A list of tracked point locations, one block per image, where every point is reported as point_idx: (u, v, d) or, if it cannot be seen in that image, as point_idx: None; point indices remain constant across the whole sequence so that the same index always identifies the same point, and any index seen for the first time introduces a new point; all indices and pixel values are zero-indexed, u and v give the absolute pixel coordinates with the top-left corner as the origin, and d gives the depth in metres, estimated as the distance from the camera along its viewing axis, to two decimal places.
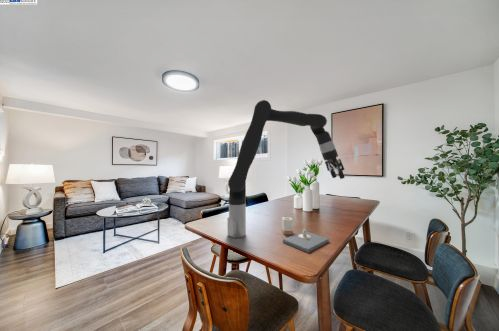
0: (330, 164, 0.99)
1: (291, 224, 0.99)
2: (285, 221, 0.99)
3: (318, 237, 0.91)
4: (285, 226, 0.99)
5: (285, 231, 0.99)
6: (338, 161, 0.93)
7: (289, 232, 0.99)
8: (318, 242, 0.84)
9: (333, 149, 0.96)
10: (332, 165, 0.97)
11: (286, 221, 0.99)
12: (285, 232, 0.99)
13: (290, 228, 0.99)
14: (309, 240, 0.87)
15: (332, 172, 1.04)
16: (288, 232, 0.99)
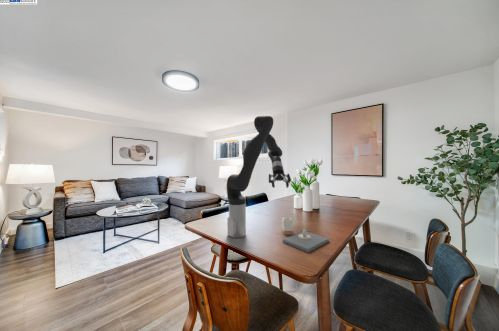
0: (280, 174, 1.19)
1: (291, 224, 0.99)
2: (285, 221, 0.99)
3: (318, 237, 0.91)
4: (285, 226, 0.99)
5: (285, 231, 0.99)
6: None
7: (289, 232, 0.99)
8: (318, 242, 0.84)
9: None
10: (282, 175, 1.19)
11: (286, 221, 0.99)
12: (285, 232, 0.99)
13: (290, 228, 0.99)
14: (309, 240, 0.87)
15: None
16: (288, 232, 0.99)
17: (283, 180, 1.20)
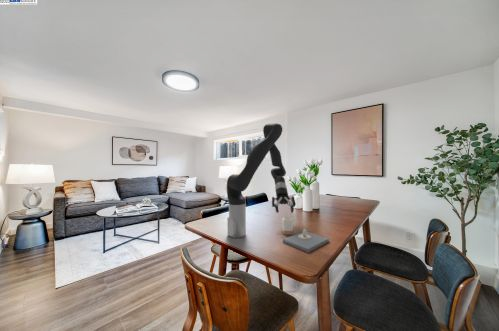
0: (284, 198, 1.12)
1: (291, 224, 0.99)
2: (285, 221, 0.99)
3: (318, 237, 0.91)
4: (285, 226, 0.99)
5: (285, 231, 0.99)
6: None
7: (289, 232, 0.99)
8: (318, 242, 0.84)
9: None
10: (287, 199, 1.12)
11: (286, 221, 0.99)
12: (285, 232, 0.99)
13: (290, 228, 0.99)
14: (309, 240, 0.87)
15: None
16: (288, 232, 0.99)
17: (287, 204, 1.13)
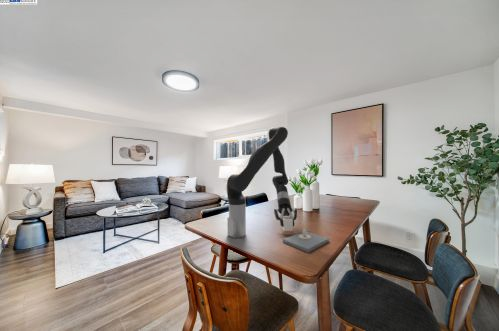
0: (287, 209, 1.05)
1: (291, 224, 0.99)
2: (285, 221, 0.99)
3: (318, 237, 0.91)
4: (285, 226, 0.99)
5: (285, 231, 0.99)
6: (296, 211, 1.06)
7: (289, 232, 0.99)
8: (318, 242, 0.84)
9: None
10: (289, 211, 1.05)
11: (286, 221, 0.99)
12: (285, 232, 0.99)
13: (290, 228, 0.99)
14: (309, 240, 0.87)
15: None
16: (288, 232, 0.99)
17: None
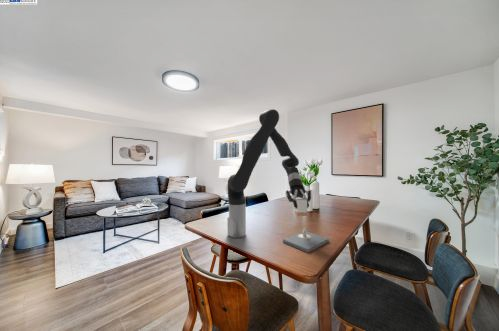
0: (300, 190, 0.98)
1: (305, 205, 0.92)
2: (299, 202, 0.92)
3: (318, 237, 0.91)
4: (299, 207, 0.92)
5: (299, 213, 0.92)
6: None
7: (303, 214, 0.92)
8: (318, 242, 0.84)
9: None
10: (302, 192, 0.97)
11: (300, 202, 0.92)
12: (299, 214, 0.92)
13: (304, 209, 0.92)
14: (309, 240, 0.87)
15: None
16: (302, 214, 0.92)
17: (302, 197, 0.98)
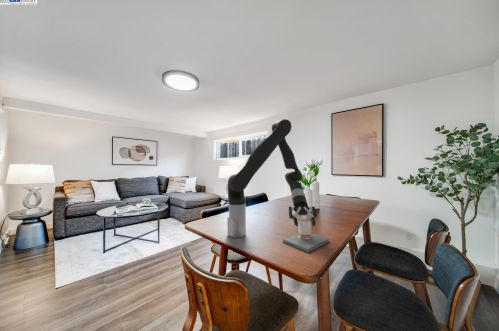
0: (304, 208, 0.95)
1: (309, 227, 0.89)
2: (303, 224, 0.89)
3: (318, 237, 0.91)
4: (303, 229, 0.89)
5: (303, 235, 0.89)
6: None
7: (307, 236, 0.89)
8: (318, 242, 0.84)
9: None
10: (306, 209, 0.95)
11: (304, 224, 0.89)
12: (303, 236, 0.89)
13: (308, 231, 0.89)
14: (309, 240, 0.87)
15: None
16: (306, 236, 0.89)
17: (307, 215, 0.96)
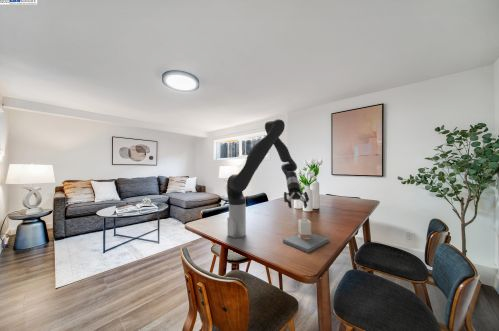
0: (297, 193, 1.08)
1: (309, 227, 0.89)
2: (303, 224, 0.89)
3: (318, 237, 0.91)
4: (303, 229, 0.89)
5: (303, 235, 0.89)
6: None
7: (307, 236, 0.89)
8: (318, 242, 0.84)
9: None
10: (299, 194, 1.08)
11: (304, 224, 0.89)
12: (303, 236, 0.89)
13: (308, 231, 0.89)
14: (309, 240, 0.87)
15: None
16: (306, 236, 0.89)
17: (300, 199, 1.09)
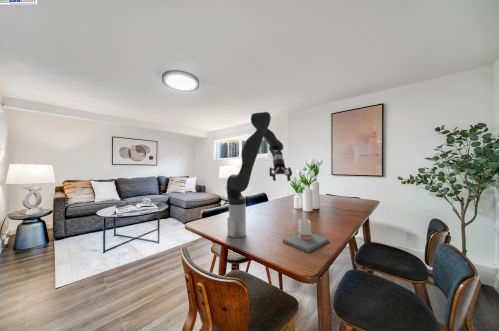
0: (281, 168, 1.17)
1: (309, 227, 0.89)
2: (303, 224, 0.89)
3: (318, 237, 0.91)
4: (303, 229, 0.89)
5: (303, 235, 0.89)
6: None
7: (307, 236, 0.89)
8: (318, 242, 0.84)
9: None
10: (283, 169, 1.17)
11: (304, 224, 0.89)
12: (303, 236, 0.89)
13: (308, 231, 0.89)
14: (309, 240, 0.87)
15: None
16: (306, 236, 0.89)
17: (284, 174, 1.18)
